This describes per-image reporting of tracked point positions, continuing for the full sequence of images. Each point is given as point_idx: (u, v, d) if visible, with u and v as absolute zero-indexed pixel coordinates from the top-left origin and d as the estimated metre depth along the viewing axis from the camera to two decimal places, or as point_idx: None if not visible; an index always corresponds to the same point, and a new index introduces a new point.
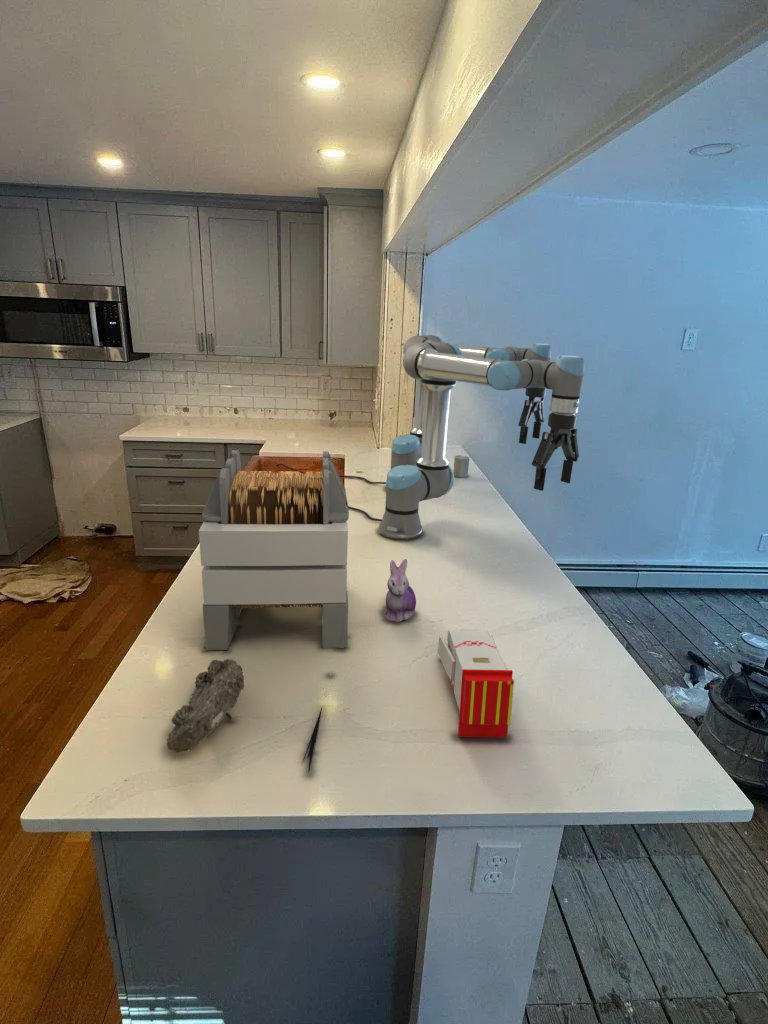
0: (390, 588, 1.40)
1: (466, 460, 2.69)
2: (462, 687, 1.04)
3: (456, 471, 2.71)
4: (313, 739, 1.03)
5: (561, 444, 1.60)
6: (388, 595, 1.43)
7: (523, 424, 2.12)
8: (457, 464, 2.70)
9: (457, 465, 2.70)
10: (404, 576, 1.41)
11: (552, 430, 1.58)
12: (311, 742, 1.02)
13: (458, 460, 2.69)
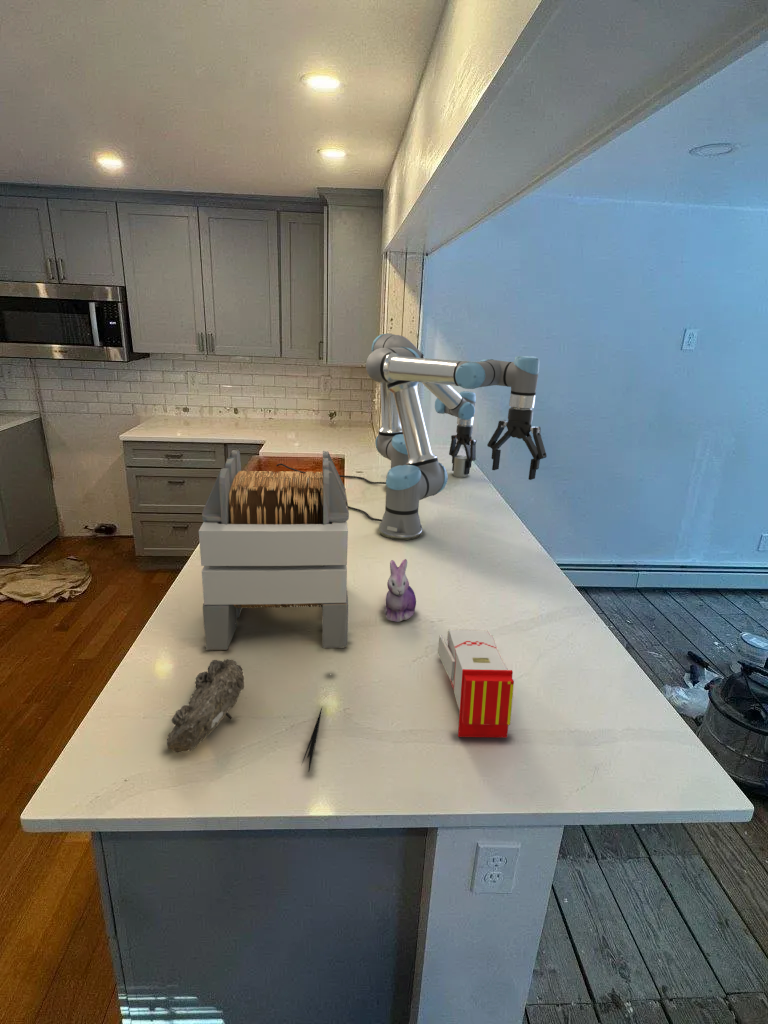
0: (390, 588, 1.40)
1: (466, 460, 2.69)
2: (462, 687, 1.04)
3: (456, 471, 2.71)
4: (313, 739, 1.03)
5: None
6: (388, 595, 1.43)
7: (474, 459, 2.67)
8: (457, 464, 2.70)
9: (457, 465, 2.70)
10: (404, 576, 1.41)
11: (529, 424, 1.74)
12: (311, 742, 1.02)
13: (458, 460, 2.69)
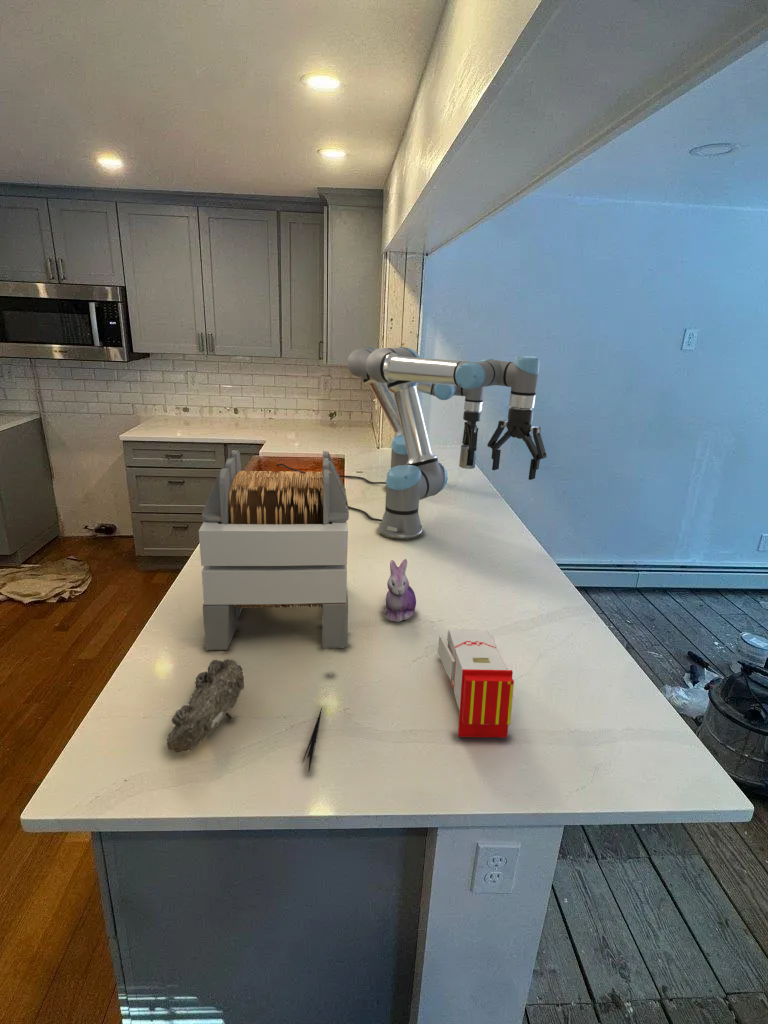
0: (390, 588, 1.40)
1: None
2: (462, 687, 1.04)
3: (460, 461, 2.49)
4: (313, 739, 1.03)
5: None
6: (388, 595, 1.43)
7: (475, 449, 2.41)
8: (461, 453, 2.48)
9: (460, 454, 2.48)
10: (404, 576, 1.41)
11: (529, 424, 1.74)
12: (311, 742, 1.02)
13: (461, 449, 2.47)
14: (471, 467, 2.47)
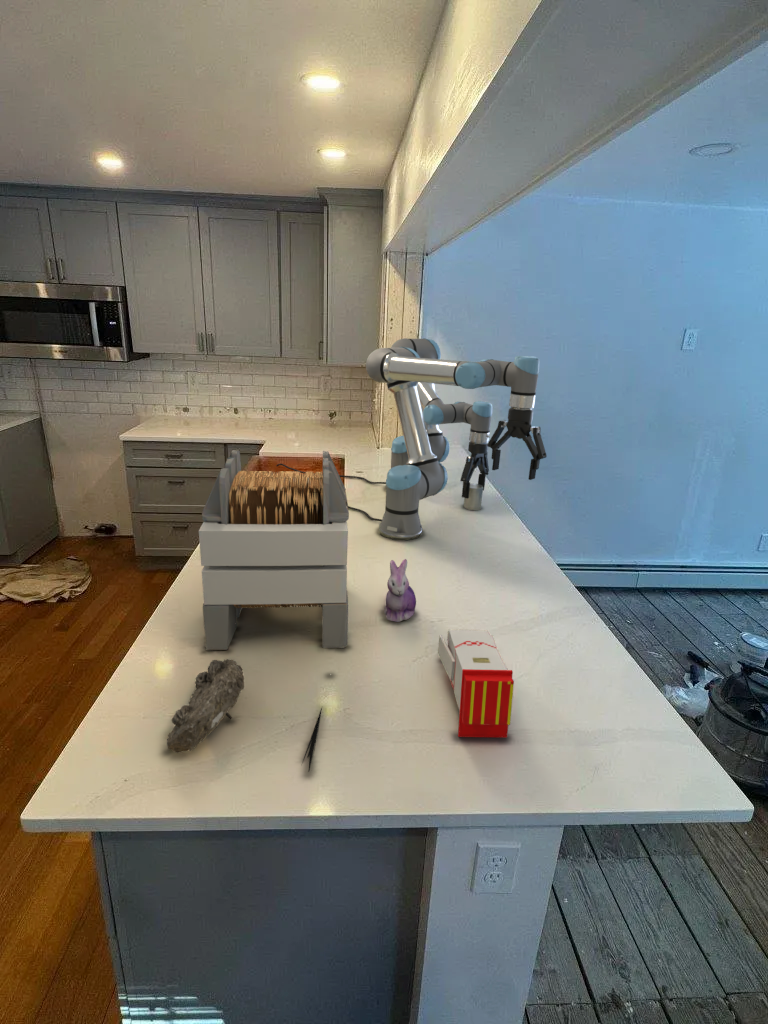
0: (390, 588, 1.40)
1: None
2: (462, 687, 1.04)
3: None
4: (313, 739, 1.03)
5: None
6: (388, 595, 1.43)
7: (464, 480, 2.18)
8: None
9: None
10: (404, 576, 1.41)
11: (529, 424, 1.74)
12: (311, 742, 1.02)
13: None
14: (470, 508, 2.27)
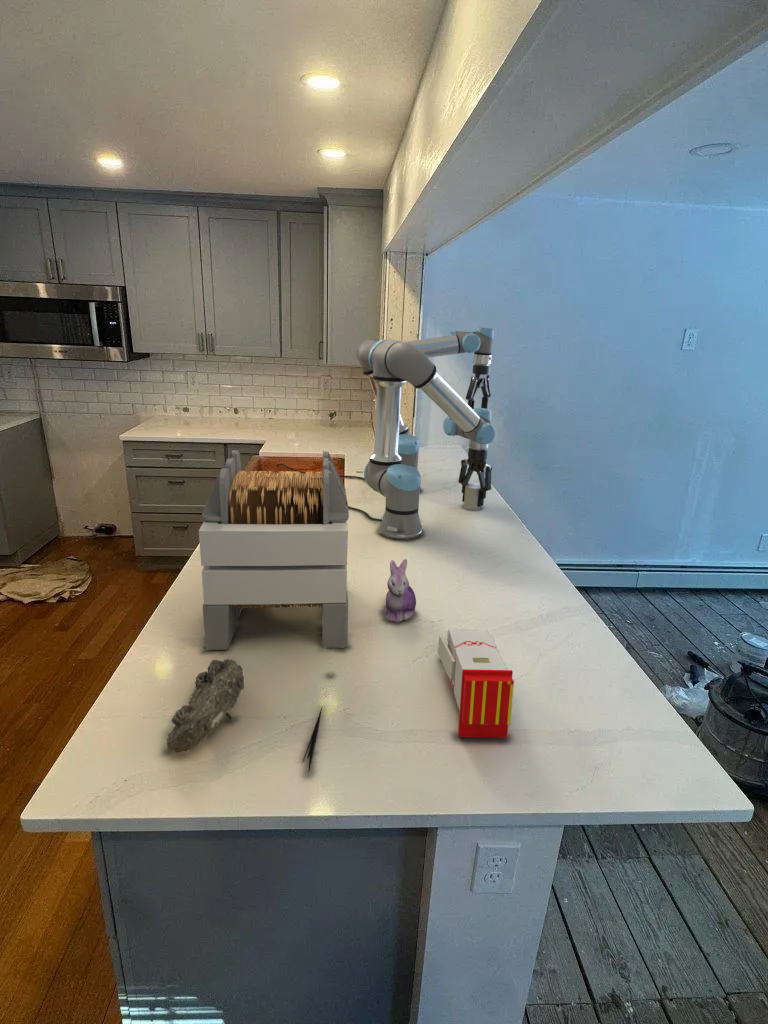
0: (390, 588, 1.40)
1: (468, 489, 2.25)
2: (462, 687, 1.04)
3: None
4: (313, 739, 1.03)
5: None
6: (388, 595, 1.43)
7: (469, 397, 2.44)
8: None
9: None
10: (404, 576, 1.41)
11: (484, 461, 2.21)
12: (311, 742, 1.02)
13: None
14: (470, 508, 2.27)
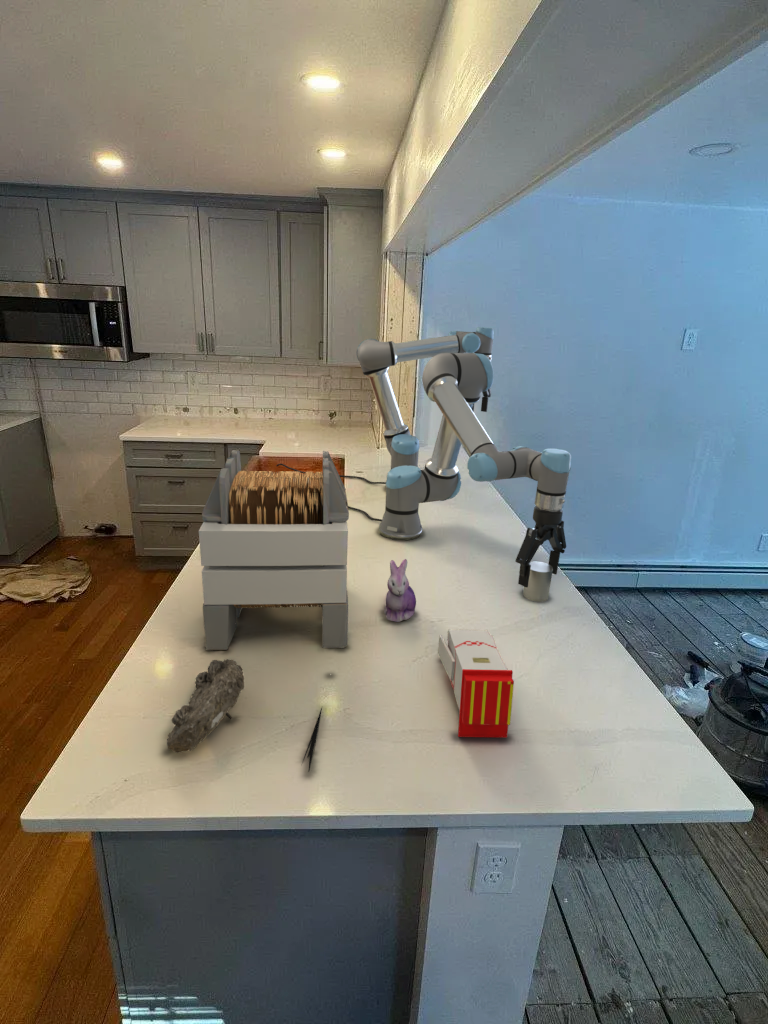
0: (390, 588, 1.40)
1: None
2: (462, 687, 1.04)
3: None
4: (313, 739, 1.03)
5: (547, 538, 1.53)
6: (388, 595, 1.43)
7: None
8: None
9: None
10: (404, 576, 1.41)
11: (537, 525, 1.51)
12: (311, 742, 1.02)
13: None
14: (523, 591, 1.61)
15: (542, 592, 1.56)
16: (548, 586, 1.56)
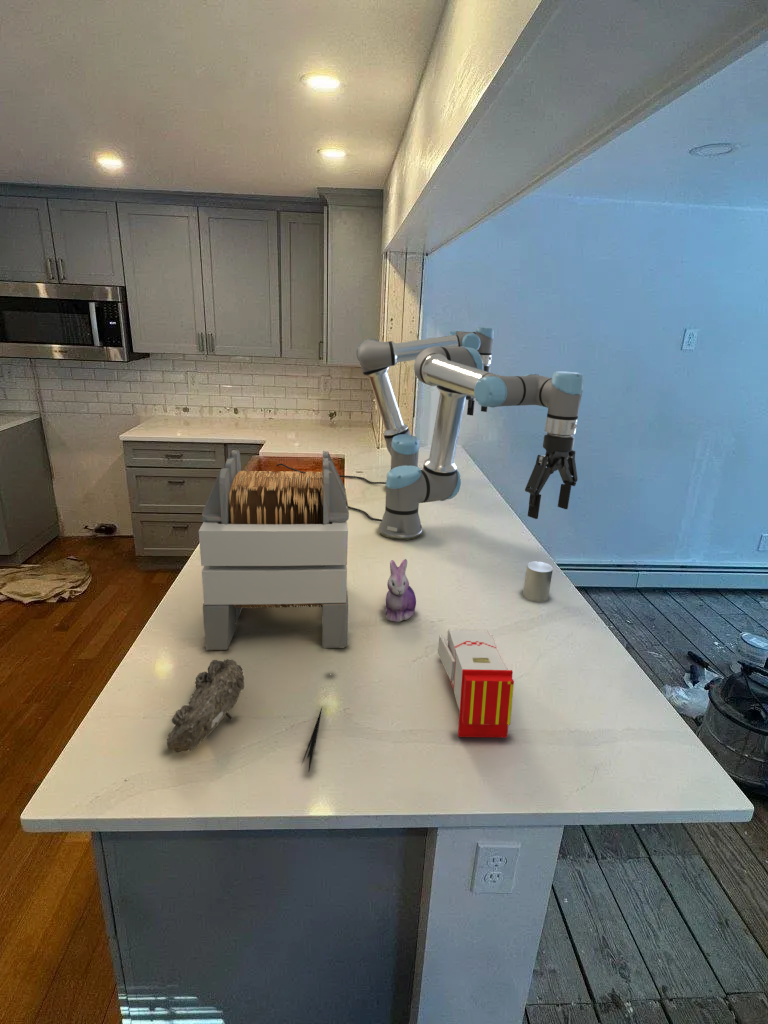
0: (390, 588, 1.40)
1: None
2: (462, 687, 1.04)
3: None
4: (313, 739, 1.03)
5: (557, 468, 1.47)
6: (388, 595, 1.43)
7: (469, 397, 2.44)
8: None
9: None
10: (404, 576, 1.41)
11: (547, 453, 1.44)
12: (311, 742, 1.02)
13: None
14: (523, 591, 1.61)
15: (542, 592, 1.56)
16: (548, 586, 1.56)
